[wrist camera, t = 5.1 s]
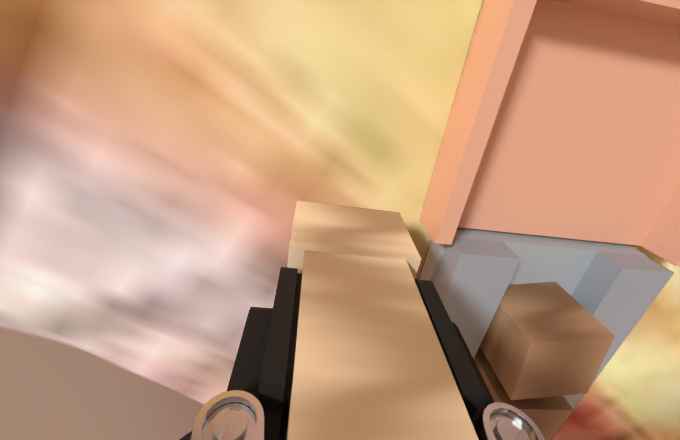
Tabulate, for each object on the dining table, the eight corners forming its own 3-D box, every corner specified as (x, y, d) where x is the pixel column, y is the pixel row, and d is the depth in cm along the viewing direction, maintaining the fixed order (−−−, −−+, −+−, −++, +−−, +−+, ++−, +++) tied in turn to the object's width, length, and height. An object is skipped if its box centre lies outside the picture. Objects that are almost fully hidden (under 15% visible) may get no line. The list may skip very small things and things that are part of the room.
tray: (786, 29, 14) (872, 23, 12) (645, 243, 19) (688, 266, 17) (493, -37, 12) (532, -58, 10) (419, 220, 17) (435, 243, 15)
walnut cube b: (555, 281, 18) (615, 336, 14) (537, 333, 20) (586, 393, 16) (486, 286, 18) (530, 343, 14) (474, 338, 20) (510, 400, 16)
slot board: (628, 244, 19) (677, 273, 16) (507, 436, 27) (527, 474, 24) (436, 225, 17) (457, 253, 15) (369, 435, 25) (375, 475, 23)
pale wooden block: (399, 212, 14) (715, 872, 3) (381, 278, 15) (532, 856, 4) (296, 200, 13) (170, 951, 2) (289, 270, 15) (197, 899, 4)
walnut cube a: (528, 348, 20) (573, 410, 17) (504, 390, 22) (541, 453, 19) (469, 346, 20) (504, 408, 16) (450, 388, 22) (478, 453, 18)
